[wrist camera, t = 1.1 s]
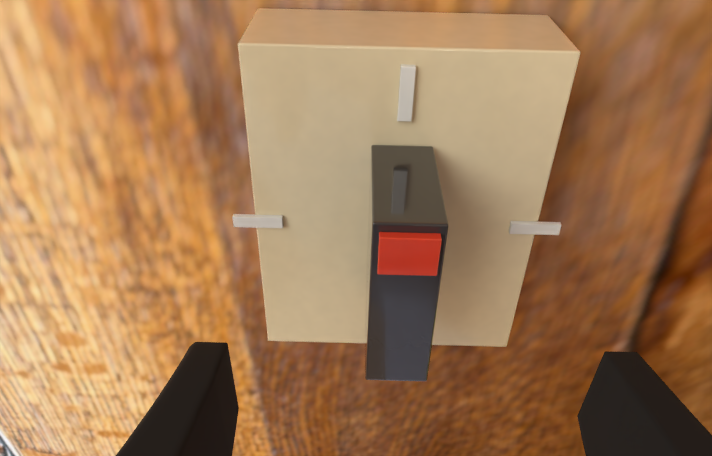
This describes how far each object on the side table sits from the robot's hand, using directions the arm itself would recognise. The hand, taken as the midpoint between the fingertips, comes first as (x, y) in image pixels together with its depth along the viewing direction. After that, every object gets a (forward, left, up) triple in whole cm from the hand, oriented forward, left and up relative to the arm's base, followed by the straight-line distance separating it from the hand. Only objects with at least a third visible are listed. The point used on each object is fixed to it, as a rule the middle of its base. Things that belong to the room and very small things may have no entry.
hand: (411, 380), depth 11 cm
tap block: (0, 0, -9) cm, 9 cm away
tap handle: (0, 0, -6) cm, 6 cm away
